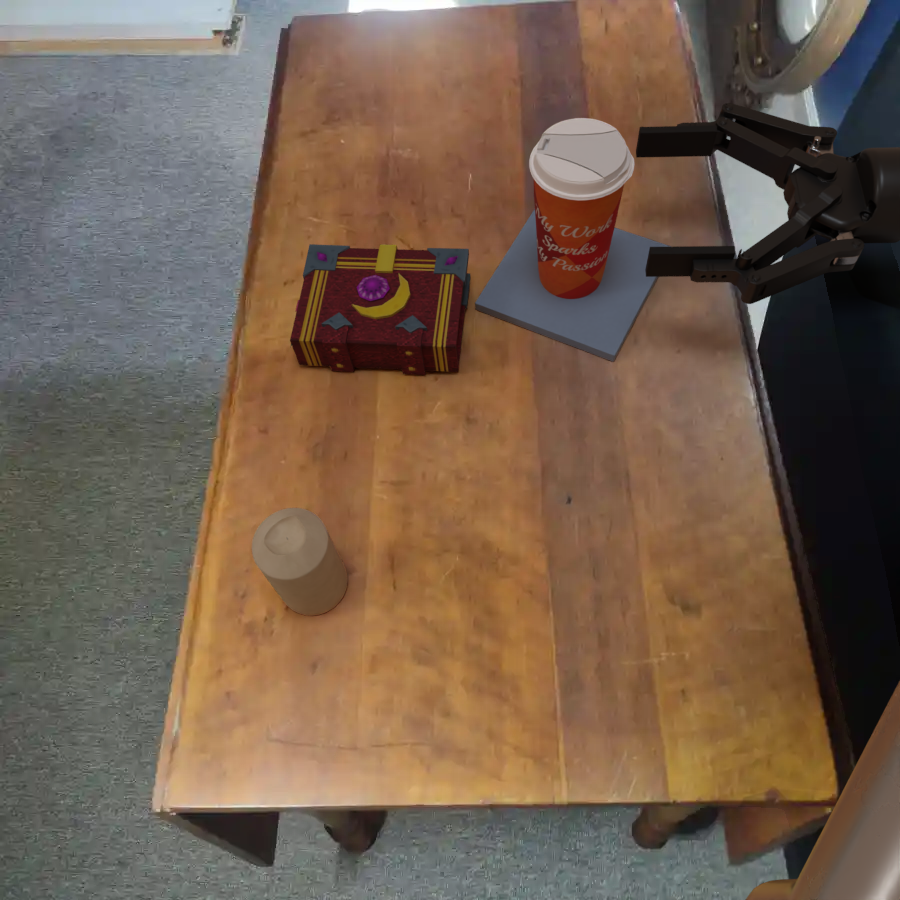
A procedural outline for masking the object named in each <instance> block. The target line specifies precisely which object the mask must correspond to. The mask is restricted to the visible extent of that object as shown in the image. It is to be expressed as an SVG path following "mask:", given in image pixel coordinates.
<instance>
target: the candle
mask: <svg viewBox="0 0 900 900" xmlns="http://www.w3.org/2000/svg"><path fill="white" fill-rule="evenodd" d="M334 543H335V542H334V541H333V540H332V537H331V535H330V533H329V531H328V528H327V526H326V525H325V523H324V522H323V520H322V519H321V518H320V517H319V516H318V515H317V514H316V513H314V512H313V511H311V510H308V509H306V508H302V507H287V508H283V509H279V510H277V511H275V512H273V513H271V514H270V515H268V516H267V517H266V518H265V519H264V520H263V521H262V522H261V523H260V524H259V525H258V527H257V528H256V530H255V532H254V534H253V537H252V540H251V555H252V559H253V561H254V564H255V566H257V569H259V571H260V572H261V573H262V574H263V576H264V577H265V579H266V580H267V581H268V582H269V584H270V585H271V587H272V588H273V590H274V591H275V592H276V593H277V595H278V596H279V597H280V599H281V600H282V602H283V603H284V604H285V605H286V606H287V608H289V609H290V610H292V611H293V612H295V613H296V614H300V615H303V616H307V617H308V616H310V617H311V616H312V617H313V616H319V615H323V614H326V613H327V612H329V611H331V610H333V609H334V608H335V607H336V606H337V605H339V603H340V602H341V601H342V599H343V598H344V596H345V594H346V591H347V587H348V572H347V568H346V566H345V563H344V562H343V559H342V557H341V555H340V553H339V552H338V549H337V547H336V545H335V544H334Z"/></svg>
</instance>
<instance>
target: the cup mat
mask: <svg viewBox="0 0 900 900" xmlns="http://www.w3.org/2000/svg"><path fill="white" fill-rule="evenodd" d="M650 247H673V246H672V245H669V244H665V243H663V242H659V241H656V240H653V239H651V238H647V237H644V236H642V235H638V234H635V233H632V232H629V231H627V230H624V229H620V228H617V227H614V232H613V236H612V240H611V245H610V249H609V253H608V258H607V262H606V266H605V270H604V274H603V277H602V280H601V282H600V284H599V286H598V287H597V289H596V290H595V291H594V292H592V293H591V294H589V295H587V296H585V297H582V298H577V299H565V298H560V297H557V296H555V295H553V294H551V293H550V292H548V291H547V290H546V289H545V288H544V287H543V285H542V283H541V281H540V277H539V270H538V255H537V236H536V218H535V208H534V209H533V210H532V212H531V214H530V215H529V217H528V218H527V220H526V222H525V224H524V225H523V227H522V228H521V229H520V231H519V233H518V234H517V236H516V238H515V239H514V241H513V242H512V244H511V246H510V247H509V248H508V250H507V252H506V253H505V255H504V256H503V258H502V260H501V261H500V263H499V264H498V266H497V267H496V268H495V270H494V272H493V274H492V275H491V277H490V279H489V280H488V281H487V283H486V285H485V286H484V288H483V290H482V291H481V293H480V294H479V296H478V297H477V299H476V300H475V302H474V309H475V311H478V312H481V313H483V314H486V315H489V316H492V317H494V318H497V319H499V320H502V321H505V322H507V323H510V324H512V325H515V326H517V327H521V328H523V329H526V330H528V331H531V332H534V333H536V334H539V335H541V336H545V337H547V338H549V339H551V340H554V341H558V342H560V343H563V344H565V345H568V346H570V347H573V348H576V349H579V350H581V351H584V352H586V353H588V354H592V355H593V356H597V357H598V358H602V359H605V360H608V361H610V362H612V363H614V362H615V360H616V358H617V356H618V355H619V353H620V351H621V349H622V347H623V345H624V343H625V341H626V339H627V337H628V335H630V334H629V333H630V331H631V330H632V328H633V327H634V324H635V322H636V320H637V319H638V316H639V314H640V312H641V310H642V308H643V307H644V305H645V303H646V301H647V299H648V297H649V296H650V294H651V292H652V289H653V288H654V286H655V284H656V282H657V281H658V278H659V277H646V272H645V269H646V264H647V259H648V254H649V249H650Z"/></svg>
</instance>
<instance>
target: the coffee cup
mask: <svg viewBox="0 0 900 900" xmlns="http://www.w3.org/2000/svg"><path fill="white" fill-rule="evenodd" d="M528 168H529V172H530V174H531V177H532V179H533V199H534V200H533V201H534V209H535V218H536V236H537V255H538V270H539V277H540V281H541V283H542V285H543V287H544V288H545V289H546V290H547V291H548V292H550V293H551V294H553V295H555V296H557V297H560V298H565V299H577V298H582V297H585V296H587V295H589V294H591V293H592V292H594V291H595V290H596V289H597V287H598V286H599V284H600V282H601V280H602V277H603V274H604V270H605V266H606V262H607V258H608V253H609V249H610V245H611V240H612V236H613V232H614V228H616V223H617V219H618V213H619V209H620V205H621V200H622V197H623V192H624V188H625V184H626V183H627V182H628V181H629V179H631V178H632V177H633V174H634V170H635V158H634V156H633V154H632V153H631V151H630V148H629V146H628V145H627V143H626V140H625V138H624V137H623V135H622V134H621V133H620V131H619V130H618V129H617V128H616V127H615V126H613V125H611V124H609V123H607V122H605V121H602V120H599V119H595V118H588V117H575V118H574V117H573V118H568V119H564V120H561V121H559V122H556V123H554V124H553V125H551V126H549V127H548V128H547V129H545V131H544V132H543V133H542V134H541V137H540V139H539V141H538V142H537V143H536V145H535V146H534V147H533V149H532V151H531V153H530V156H529V160H528Z"/></svg>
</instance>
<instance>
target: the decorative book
mask: <svg viewBox="0 0 900 900" xmlns="http://www.w3.org/2000/svg"><path fill="white" fill-rule="evenodd" d="M469 257H470V248H454V247H453V248H451V247H449V248H448V247H445V248H444V247H427V248H426V249H399V248H398V245H397V244H384V243H383V244H380V243H379V248H365V247H364V248H363V247H362V248H361V247H360V248H359V247H357V248H356V247H351V246H350V245H340V244H339V245H338V244H314V243H313V244H311V243H309V245H308V250H307V254H306V258H305V263H304V267H303V272H302V277H303V281H302V287H301V290H300V295H299V299H298V300H297V302H296V307H295V311H294V312H295V315H294V316H295V317H294V321H293V325H292V330H291V334H290V339H289V342H290V346H289V347H290V348H291V347H292V350H293V352H294V355H295V357H296V359H297V362H298V364H299V366H309V367H310V366H312V367H329V368H330V371H331V372H344V373H345V372H346V373H347V372H349V373H354V372H355V368H356V369H357V368H359V369H379V370H382V369H383V370H384V369H385V370H401V373H402V375H416V376H426V372H428V371H429V372H448V373H449V372H450V373H459V369H460V360H461V351H462V341H463V335H464V334H463V333H464V326H465V325H464V323H465V316H466V310H468V304H469V296H470V290H471V289H470V288H471V281H472V280H471V279H472V278H471V277H472V275H471V272H469V273H468V267H469Z"/></svg>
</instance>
